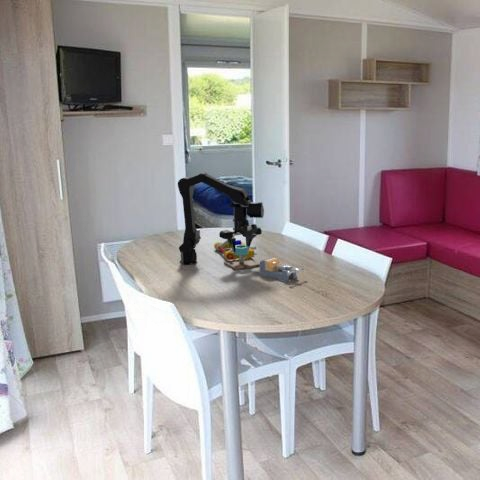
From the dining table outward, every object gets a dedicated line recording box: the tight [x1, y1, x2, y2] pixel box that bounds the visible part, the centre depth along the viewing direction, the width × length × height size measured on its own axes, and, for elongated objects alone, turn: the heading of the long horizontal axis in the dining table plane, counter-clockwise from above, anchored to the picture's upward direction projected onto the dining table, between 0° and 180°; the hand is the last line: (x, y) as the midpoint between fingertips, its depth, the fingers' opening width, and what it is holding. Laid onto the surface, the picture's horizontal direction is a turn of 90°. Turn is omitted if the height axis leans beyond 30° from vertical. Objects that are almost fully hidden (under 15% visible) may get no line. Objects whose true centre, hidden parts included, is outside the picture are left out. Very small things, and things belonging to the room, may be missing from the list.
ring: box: [234, 244, 249, 255], centre depth 241 cm, size 6×6×3 cm
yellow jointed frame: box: [213, 239, 257, 261], centre depth 259 cm, size 18×6×30 cm
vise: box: [259, 256, 306, 283], centre depth 224 cm, size 18×10×7 cm, turn 45°
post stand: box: [223, 255, 260, 271], centre depth 242 cm, size 12×12×5 cm
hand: (241, 251), depth 241 cm, fingers closed on ring, 6 cm apart
